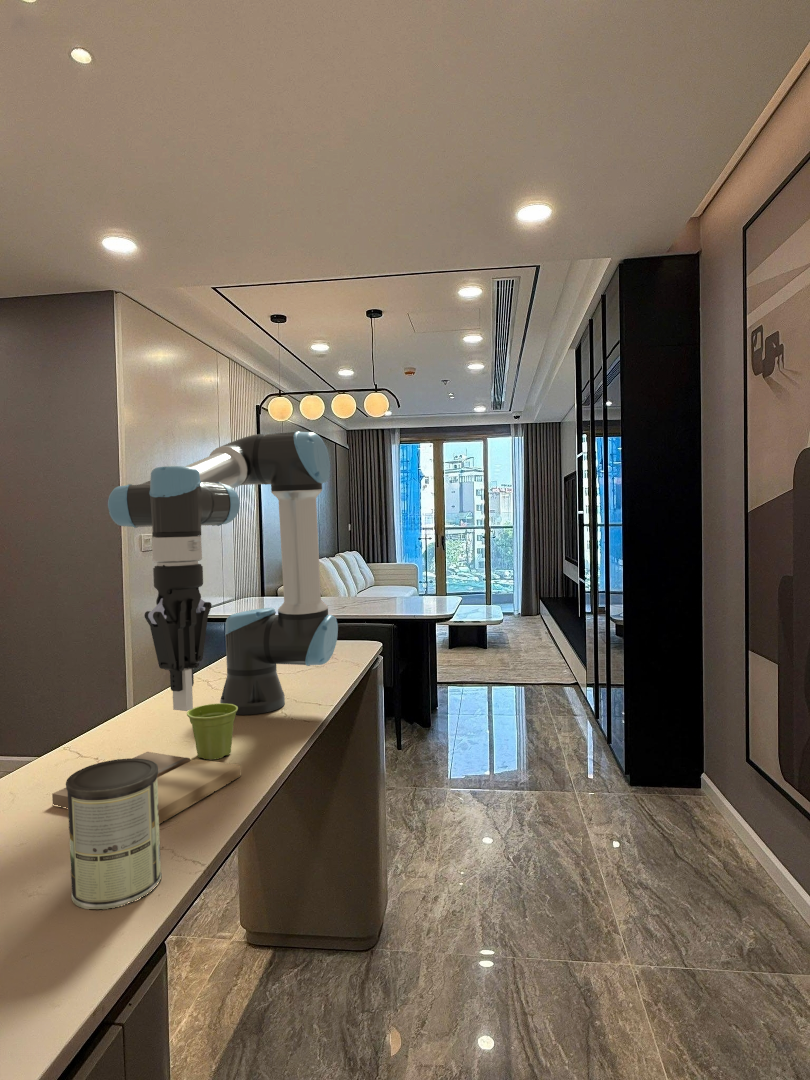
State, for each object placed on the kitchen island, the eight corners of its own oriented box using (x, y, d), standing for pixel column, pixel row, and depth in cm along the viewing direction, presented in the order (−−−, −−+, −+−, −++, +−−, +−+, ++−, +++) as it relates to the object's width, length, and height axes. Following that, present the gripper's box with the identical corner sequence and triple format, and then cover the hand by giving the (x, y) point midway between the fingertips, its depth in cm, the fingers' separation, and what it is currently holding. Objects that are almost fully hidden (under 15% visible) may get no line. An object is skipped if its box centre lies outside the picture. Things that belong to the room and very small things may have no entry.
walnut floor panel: (147, 762, 123) (147, 751, 123) (190, 769, 119) (189, 758, 119) (52, 806, 104) (52, 793, 104) (98, 816, 101) (98, 802, 100)
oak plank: (195, 770, 118) (194, 759, 118) (240, 776, 114) (240, 764, 114) (104, 817, 100) (104, 804, 100) (155, 826, 96) (154, 812, 96)
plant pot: (186, 766, 120) (185, 719, 120) (189, 749, 129) (188, 705, 129) (239, 760, 123) (238, 714, 123) (238, 744, 132) (237, 701, 132)
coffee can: (55, 891, 80) (50, 776, 80) (135, 856, 88) (132, 752, 88) (95, 922, 74) (90, 798, 73) (178, 881, 82) (174, 769, 81)
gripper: (166, 566, 98) (172, 723, 99) (223, 560, 110) (227, 700, 111) (128, 566, 101) (134, 718, 102) (187, 560, 113) (192, 696, 114)
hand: (183, 709), depth 106 cm, fingers closed
